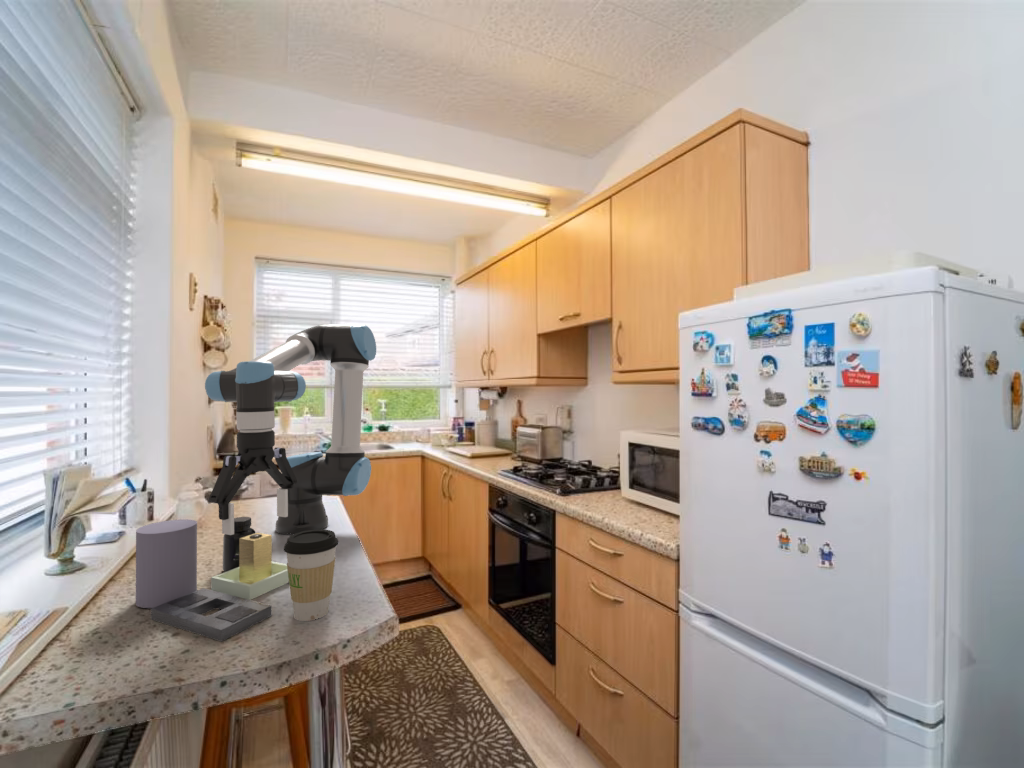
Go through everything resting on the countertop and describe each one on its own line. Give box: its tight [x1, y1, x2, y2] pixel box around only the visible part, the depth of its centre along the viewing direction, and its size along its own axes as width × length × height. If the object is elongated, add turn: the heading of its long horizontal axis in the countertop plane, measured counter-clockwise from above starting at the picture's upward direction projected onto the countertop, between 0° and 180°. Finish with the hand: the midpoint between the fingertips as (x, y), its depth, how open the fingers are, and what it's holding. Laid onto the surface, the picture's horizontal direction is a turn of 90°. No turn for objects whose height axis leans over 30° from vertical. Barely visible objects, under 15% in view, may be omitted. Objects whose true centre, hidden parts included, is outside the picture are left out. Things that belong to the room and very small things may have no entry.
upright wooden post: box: [239, 532, 273, 584], centre depth 105 cm, size 4×4×10 cm
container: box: [135, 518, 198, 610], centre depth 98 cm, size 10×10×15 cm
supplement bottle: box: [222, 516, 256, 573], centre depth 114 cm, size 7×7×12 cm
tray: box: [210, 560, 289, 600], centre depth 105 cm, size 12×12×3 cm
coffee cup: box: [283, 529, 339, 622], centre depth 91 cm, size 10×10×15 cm
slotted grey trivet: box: [150, 587, 273, 642], centre depth 90 cm, size 10×20×2 cm, turn 67°
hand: (256, 524), depth 106 cm, fingers open, 13 cm apart
